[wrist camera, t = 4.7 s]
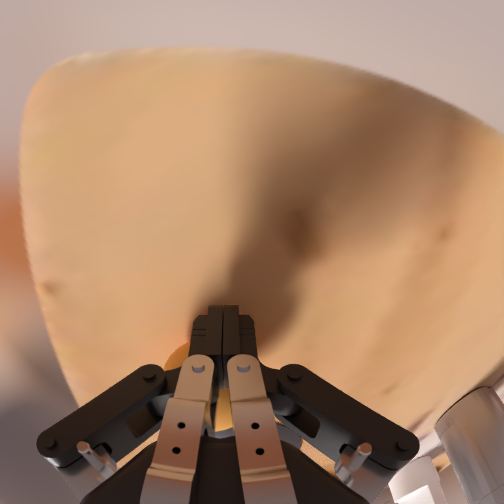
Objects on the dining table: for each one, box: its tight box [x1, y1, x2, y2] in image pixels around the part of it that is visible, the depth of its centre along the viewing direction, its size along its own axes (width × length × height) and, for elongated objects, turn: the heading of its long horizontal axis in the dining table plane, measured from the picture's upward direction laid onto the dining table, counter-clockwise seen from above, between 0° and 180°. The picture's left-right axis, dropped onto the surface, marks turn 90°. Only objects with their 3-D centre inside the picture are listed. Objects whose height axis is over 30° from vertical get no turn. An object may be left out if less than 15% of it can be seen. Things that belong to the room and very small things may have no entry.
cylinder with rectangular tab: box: [388, 456, 448, 504], centre depth 29 cm, size 9×9×12 cm
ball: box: [163, 342, 233, 431], centre depth 15 cm, size 6×6×6 cm
